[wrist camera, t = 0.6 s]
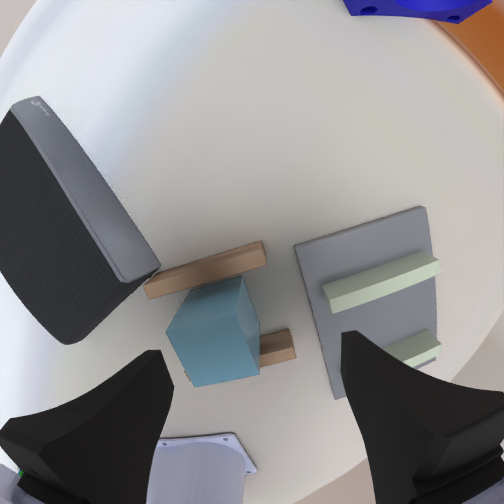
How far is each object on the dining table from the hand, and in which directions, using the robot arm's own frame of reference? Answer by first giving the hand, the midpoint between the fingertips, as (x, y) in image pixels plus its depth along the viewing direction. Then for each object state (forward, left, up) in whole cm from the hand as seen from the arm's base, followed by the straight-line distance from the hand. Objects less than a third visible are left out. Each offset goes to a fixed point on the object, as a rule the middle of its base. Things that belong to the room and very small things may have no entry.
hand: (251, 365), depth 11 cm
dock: (+8, -5, -10) cm, 14 cm away
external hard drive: (-15, +10, -10) cm, 21 cm away
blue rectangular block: (-3, -1, -10) cm, 10 cm away
